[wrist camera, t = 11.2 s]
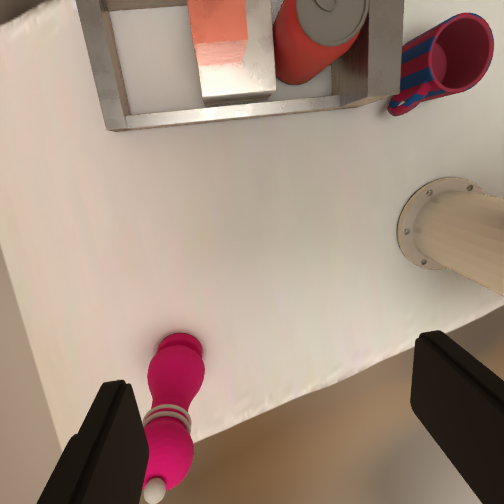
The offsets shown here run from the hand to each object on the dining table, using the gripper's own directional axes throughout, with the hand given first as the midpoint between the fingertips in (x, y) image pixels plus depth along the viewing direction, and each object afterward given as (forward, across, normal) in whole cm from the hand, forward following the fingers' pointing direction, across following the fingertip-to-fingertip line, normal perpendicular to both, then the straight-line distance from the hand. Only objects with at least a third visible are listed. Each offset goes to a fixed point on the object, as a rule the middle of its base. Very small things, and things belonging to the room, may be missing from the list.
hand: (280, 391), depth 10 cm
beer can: (+31, -9, -17) cm, 36 cm away
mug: (+31, -22, -13) cm, 40 cm away
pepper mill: (+31, +10, +19) cm, 37 cm away
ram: (+30, -2, -17) cm, 35 cm away
